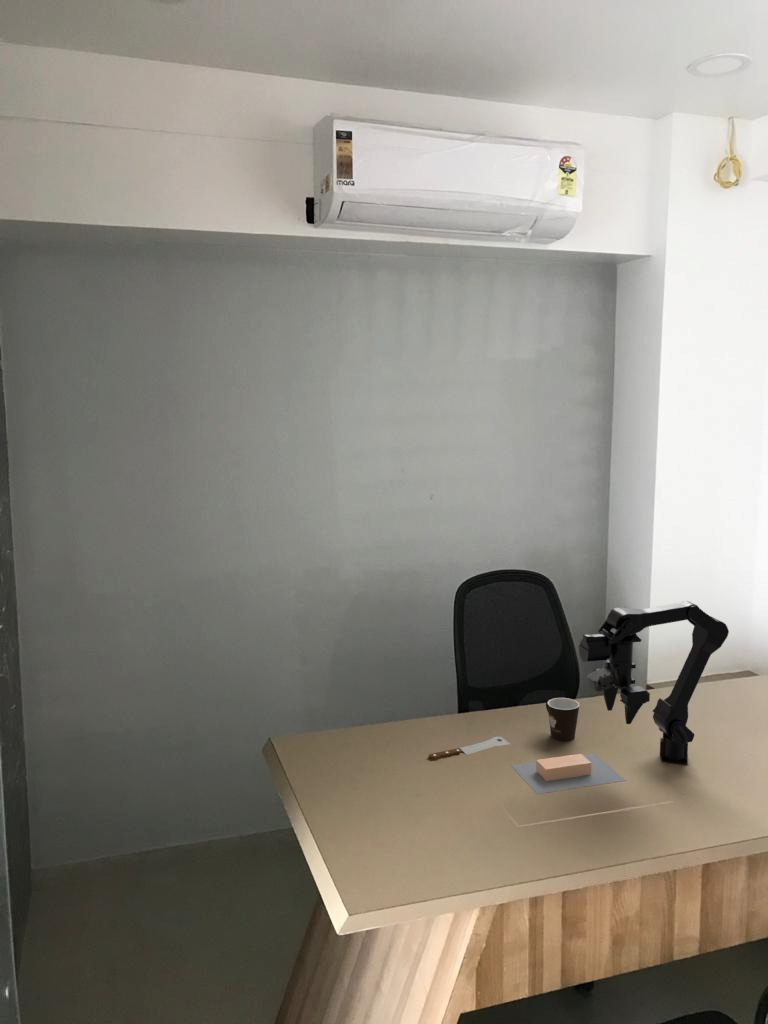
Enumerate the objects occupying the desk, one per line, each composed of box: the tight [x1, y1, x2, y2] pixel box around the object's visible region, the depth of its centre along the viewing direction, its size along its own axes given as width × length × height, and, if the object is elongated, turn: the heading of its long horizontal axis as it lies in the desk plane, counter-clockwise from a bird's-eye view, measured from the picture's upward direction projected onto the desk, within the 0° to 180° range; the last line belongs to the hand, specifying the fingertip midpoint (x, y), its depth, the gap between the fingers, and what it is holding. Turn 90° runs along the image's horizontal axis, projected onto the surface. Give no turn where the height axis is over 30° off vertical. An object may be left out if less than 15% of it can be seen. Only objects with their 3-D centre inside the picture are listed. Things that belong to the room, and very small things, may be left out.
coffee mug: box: [545, 697, 580, 742], centre depth 243 cm, size 12×9×10 cm
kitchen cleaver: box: [428, 736, 511, 761], centre depth 233 cm, size 24×1×10 cm
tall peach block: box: [535, 753, 591, 781], centre depth 220 cm, size 3×6×12 cm
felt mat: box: [510, 753, 627, 795], centre depth 220 cm, size 24×16×1 cm, turn 105°
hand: (618, 717), depth 223 cm, fingers open, 9 cm apart
